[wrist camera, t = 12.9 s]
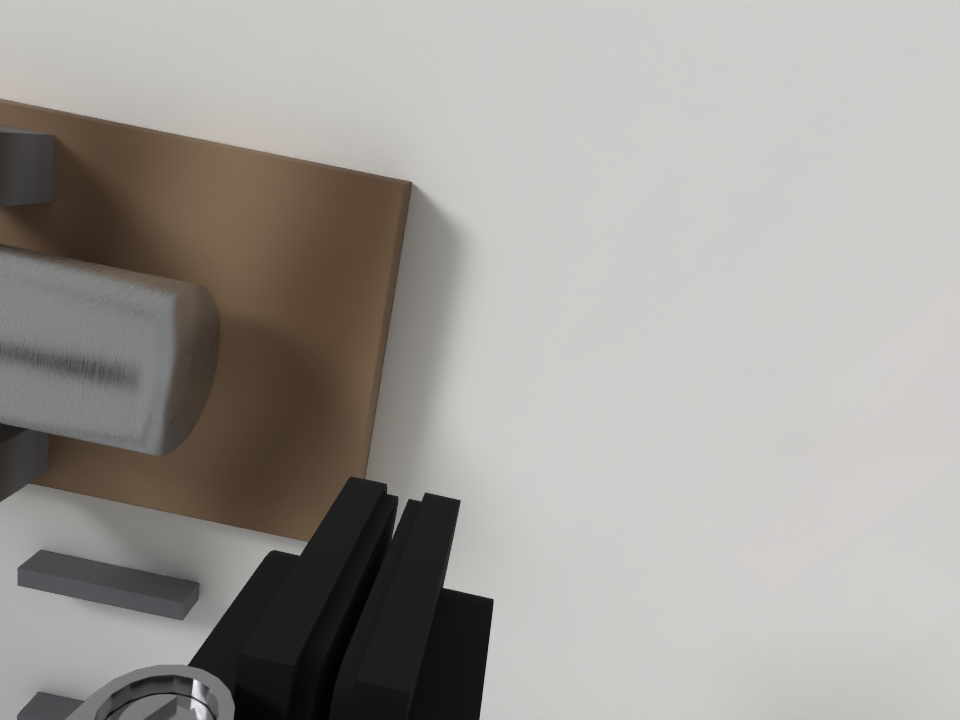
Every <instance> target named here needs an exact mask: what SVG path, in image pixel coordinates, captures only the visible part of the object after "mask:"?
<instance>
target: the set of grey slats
mask: <svg viewBox="0 0 960 720" xmlns="http://www.w3.org/2000/svg"><path fill="white" fill-rule="evenodd" d="M18 586H23V587H27V588H32V589H37V590H41V591H46V592H51V593H56V594H60V595H65V596H70V597H74V598H79V599H84V600H88V601H93V602H98V603H103V604H107V605H112V606H117V607H121V608H126V609H131V610H136V611H140V612H145V613H150V614H154V615H159V616H164V617H168V618H173V619H178V620H183V619H184V618H185V616H186V615H187V614H188V612H189V611H190V610H191V608H192V607H193V606H194V604H195V603H196V602H197V600H198V592H199V583H195V582H190V581H185V580H181V579H176V578H171V577H166V576H162V575H157V574H152V573H147V572H143V571H138V570H133V569H129V568H124V567H119V566H114V565H110V564H105V563H100V562H95V561H91V560H86V559H81V558H77V557H72V556H67V555H62V554H58V553H53V552H48V551H44V550H40V551H38V552H37V553H36V554H35V555H33V556H32V557H31V558H30V559H28V560H27V561H26V562H25V563H23V564H22V565H21V566H20V567H18ZM83 703H84V702H83V701H78V700H73V699H69V698H64V697H59V696H55V695H50V694H46V693H41V692H38V693H37V694H36V695H35V696H34V697H33V698H32V700H31V701H30V702H29V703H28V704H27V705H26V706H25V707H24V708H23V709H22V710H21V711H20V713H19V714H18V715H17V720H65V719H66V718H67V717H68V716H70V715H71V714H72V713H73V712H74V711H75V710H76V709H77V708H78V707H79V706H81V705H82V704H83Z"/></svg>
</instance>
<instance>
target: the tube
mask: <svg viewBox="0 0 960 720" xmlns="http://www.w3.org/2000/svg"><path fill="white" fill-rule="evenodd" d="M219 345H220V323H219V315H218V310H217V306H216V303H215V300H214V298H213V296H212V294H211V293H210V291H209V290H208V289H207V288H205V287H204V286H202V285H198V284H193V283H189V282H184V281H179V280H174V279H169V278H164V277H159V276H154V275H150V274H145V273H140V272H135V271H130V270H125V269H120V268H115V267H110V266H106V265H101V264H96V263H91V262H86V261H81V260H76V259H71V258H67V257H62V256H57V255H52V254H47V253H42V252H37V251H32V250H28V249H23V248H18V247H13V246H8V245H3V244H0V423H2V424H7V425H12V426H16V427H21V428H26V429H31V430H36V431H40V432H45V433H50V434H55V435H60V436H64V437H69V438H74V439H79V440H83V441H88V442H93V443H98V444H103V445H107V446H112V447H117V448H122V449H127V450H131V451H136V452H141V453H146V454H151V455H156V456H164V455H167V454H170V453H171V452H173V451H174V450H176V449H177V448H178V447H179V446H180V445H181V444H182V443H183V442H184V441H185V440H186V438H187V437H188V436H189V434H190V433H191V432H192V430H193V428H194V427H195V425H196V423H197V421H198V420H199V418H200V416H201V414H202V411H203V409H204V407H205V404H206V402H207V399H208V396H209V394H210V391H211V387H212V384H213V380H214V376H215V372H216V367H217V362H218V355H219Z"/></svg>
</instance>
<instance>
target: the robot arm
mask: <svg viewBox="0 0 960 720" xmlns="http://www.w3.org/2000/svg"><path fill="white" fill-rule="evenodd" d="M460 501H461V500H457V499H452V498H448V497H443V496H439V495H434V494H430V493H425V494H424V497H423V499H422V502H421V501H416V500H412V499H409V500H408V502H407V505H406V507H405V509H404V512H403V514H402V517H401V519H400V522H399V524H398V526H397V529H396V531H395V534H394V536H393V539H392V535H393V529H394V523H395V518H396V512H397V506H398V496H394V495H389V494H387V484H384V483H379V482H375V481H370V480H366V479H361V478H357V477H352V476H350V478H349V479H348V480H347V482H346V484H345V485H344V487H343V488H342V490H341V491H340V493H339V495H338V496H337V498H336V499H335V501H334V503H333V504H332V506H331V507H330V509H329V511H328V512H327V514H326V515H325V517H324V519H323V520H322V522H321V523H320V525H319V526H318V528H317V530H316V531H315V533H314V534H313V536H312V538H311V539H310V541H309V542H308V544H307V546H306V547H305V549H304V550H303V552H302V554H301V555H300V556H298V555H294V554H289V553H285V552H280V551H276V550H273V551H270V552H269V553H268V555H267V556H266V557H265V558H264V559H263V561H262V562H261V564H260V565H259V566H258V568H257V569H256V571H255V572H254V573H253V575H252V576H251V578H250V579H249V580H248V582H247V583H246V585H245V586H244V587H243V589H242V590H241V592H240V593H239V594H238V596H237V597H236V599H235V600H234V601H233V603H232V604H231V606H230V607H229V608H228V610H227V611H226V613H225V614H224V615H223V617H222V618H221V620H220V621H219V622H218V624H217V625H216V627H215V628H214V629H213V631H212V632H211V634H210V635H209V636H208V638H207V639H206V641H205V642H204V643H203V645H202V646H201V648H200V649H199V650H198V652H197V653H196V655H195V656H194V657H193V659H192V660H191V662H190V663H189V664H188V666H185V665H156V666H152V667H147V668H142V669H137V670H134V671H132V672H130V673H127V674H125V675H123V676H120V677H118V678H115V679H113V680H112V681H111V682H109V683H108V684H106V685H105V686H104V687H102V688H101V689H99V690H98V691H96V692H95V693H94V694H93V695H92V696H91V697H89V698H88V699H87V700H86V701H85V702H84V703H83V704H82V705H81V706H79V707H78V708H77V709H76V710H75V711H74V712H73V713H72V714H71V715H70V716H68V717H67V718H66V719H65V720H479V718H480V710H481V702H482V694H483V685H484V677H485V669H486V661H487V653H488V645H489V636H490V628H491V620H492V612H493V602H494V601H493V599H490V598H486V597H481V596H477V595H472V594H468V593H463V592H459V591H454V590H450V589H446V588H443V585H444V580H445V575H446V571H447V566H448V561H449V556H450V551H451V546H452V541H453V536H454V532H455V527H456V522H457V517H458V512H459V507H460ZM391 540H392V541H391Z"/></svg>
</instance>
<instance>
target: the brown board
mask: <svg viewBox="0 0 960 720" xmlns="http://www.w3.org/2000/svg"><path fill="white" fill-rule="evenodd" d="M411 187H412V182H409V181H404V180H399V179H394V178H389V177H384V176H379V175H374V174H369V173H365V172H360V171H355V170H350V169H345V168H340V167H335V166H330V165H325V164H320V163H315V162H310V161H305V160H300V159H295V158H290V157H285V156H280V155H275V154H270V153H266V152H261V151H256V150H251V149H246V148H241V147H236V146H231V145H226V144H221V143H216V142H211V141H206V140H201V139H196V138H191V137H186V136H181V135H176V134H172V133H167V132H162V131H157V130H152V129H147V128H142V127H137V126H132V125H127V124H122V123H117V122H112V121H107V120H102V119H97V118H92V117H87V116H82V115H77V114H73V113H68V112H63V111H58V110H53V109H48V108H43V107H38V106H33V105H28V104H23V103H18V102H13V101H8V100H3V99H0V244H3V245H8V246H13V247H18V248H23V249H28V250H32V251H37V252H42V253H47V254H52V255H57V256H62V257H67V258H71V259H76V260H81V261H86V262H91V263H96V264H101V265H106V266H110V267H115V268H120V269H125V270H130V271H135V272H140V273H145V274H150V275H154V276H159V277H164V278H169V279H174V280H179V281H184V282H189V283H193V284H198V285H202V286H204V287H205V288H207V289H208V290H209V291H210V293H211V294H212V296H213V298H214V300H215V303H216V306H217V310H218V315H219V323H220V345H219V355H218V362H217V367H216V372H215V376H214V380H213V384H212V387H211V391H210V394H209V396H208V399H207V402H206V404H205V407H204V409H203V411H202V414H201V416H200V418H199V420H198V421H197V423H196V425H195V427H194V428H193V430H192V432H191V433H190V434H189V436H188V437H187V438H186V440H185V441H184V442H183V443H182V444H181V445H180V446H179V447H178V448H177V449H176V450H174V451H173V452H171V453H170V454H167V455H164V456H156V455H151V454H146V453H141V452H136V451H131V450H127V449H122V448H117V447H112V446H107V445H103V444H98V443H93V442H88V441H83V440H79V439H74V438H69V437H64V436H60V435H55V434H50V433H45V432H40V431H36V430H31V429H26V428H21V427H16V426H12V425H7V424H2V423H0V502H1V501H3V500H4V499H6V498H7V497H9V496H10V495H12V494H13V493H15V492H16V491H18V490H20V489H21V488H23V487H24V486H26V485H27V484H29V483H31V484H36V485H41V486H45V487H50V488H55V489H60V490H64V491H69V492H74V493H79V494H83V495H88V496H93V497H98V498H103V499H107V500H112V501H117V502H122V503H126V504H131V505H136V506H141V507H145V508H150V509H155V510H160V511H164V512H169V513H174V514H179V515H183V516H188V517H193V518H198V519H202V520H207V521H212V522H217V523H221V524H226V525H231V526H236V527H240V528H245V529H250V530H255V531H259V532H264V533H269V534H274V535H278V536H283V537H288V538H293V539H298V540H302V541H307V542H309V541H310V539H311V538H312V536H313V534H314V533H315V531H316V530H317V528H318V526H319V525H320V523H321V522H322V520H323V519H324V517H325V515H326V514H327V512H328V511H329V509H330V507H331V506H332V504H333V503H334V501H335V499H336V498H337V496H338V495H339V493H340V491H341V490H342V488H343V487H344V485H345V484H346V482H347V480H348V479H349V478H350V476H352V477H357V478H361V479H365V474H366V468H367V462H368V455H369V449H370V443H371V437H372V430H373V424H374V418H375V412H376V405H377V399H378V393H379V387H380V380H381V374H382V368H383V362H384V355H385V349H386V343H387V337H388V330H389V324H390V318H391V312H392V305H393V299H394V293H395V287H396V280H397V274H398V268H399V262H400V255H401V249H402V243H403V237H404V230H405V224H406V218H407V212H408V205H409V199H410V193H411Z"/></svg>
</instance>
